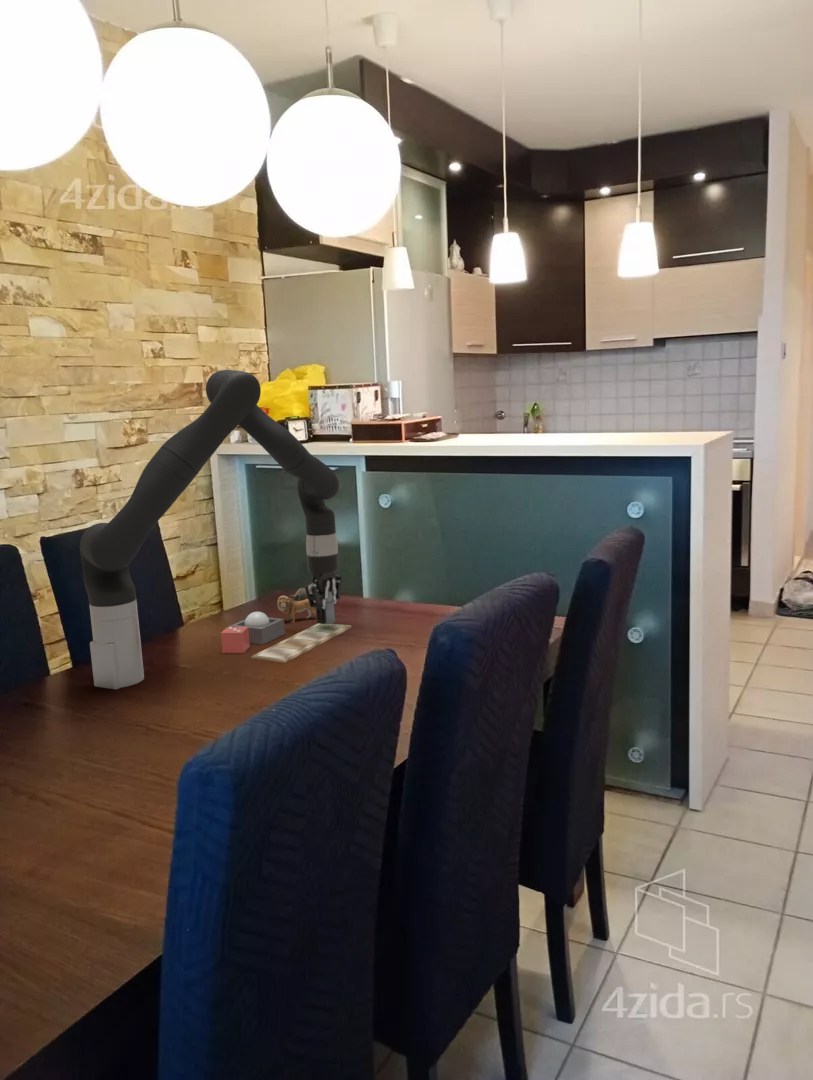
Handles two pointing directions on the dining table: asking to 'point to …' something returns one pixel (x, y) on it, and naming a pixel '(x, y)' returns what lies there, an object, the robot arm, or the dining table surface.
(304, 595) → the rhino figurine
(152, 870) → the dining table surface
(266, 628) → the dome collar
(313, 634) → the board
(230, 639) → the die
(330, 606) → the pawn
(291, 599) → the lion figurine
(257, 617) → the dome
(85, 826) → the dining table surface
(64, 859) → the dining table surface
